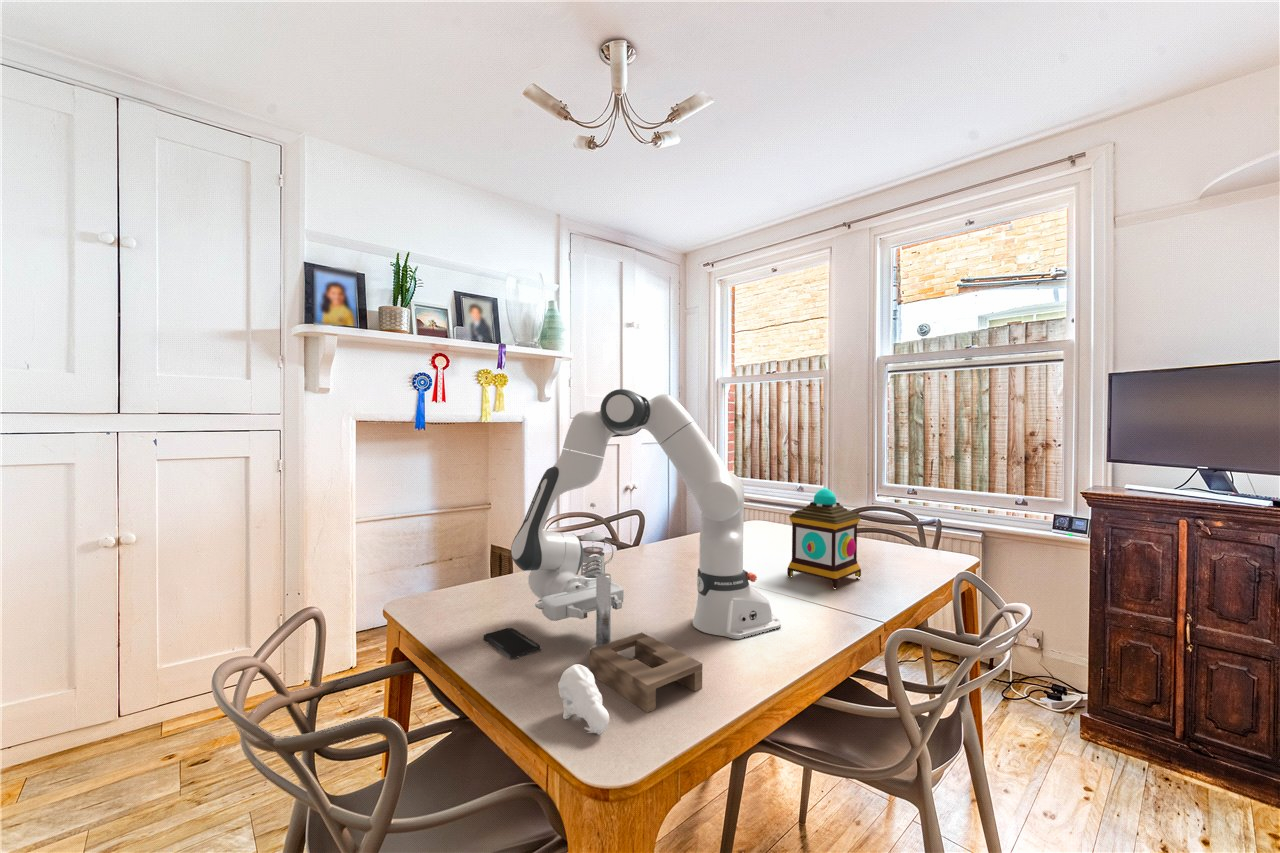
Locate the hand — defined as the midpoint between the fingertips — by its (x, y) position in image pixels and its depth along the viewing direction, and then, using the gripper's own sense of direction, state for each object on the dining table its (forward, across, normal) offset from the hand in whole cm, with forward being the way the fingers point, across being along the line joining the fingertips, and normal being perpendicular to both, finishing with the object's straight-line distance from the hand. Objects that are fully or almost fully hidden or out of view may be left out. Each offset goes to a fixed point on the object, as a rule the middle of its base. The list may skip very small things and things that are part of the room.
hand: (602, 610), depth 120 cm
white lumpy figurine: (+20, -17, +10) cm, 28 cm away
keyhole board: (+15, 0, +10) cm, 18 cm away
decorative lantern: (-1, +90, +10) cm, 91 cm away
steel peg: (0, 0, +10) cm, 10 cm away
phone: (-18, -14, +10) cm, 25 cm away
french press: (-48, +30, +10) cm, 57 cm away
